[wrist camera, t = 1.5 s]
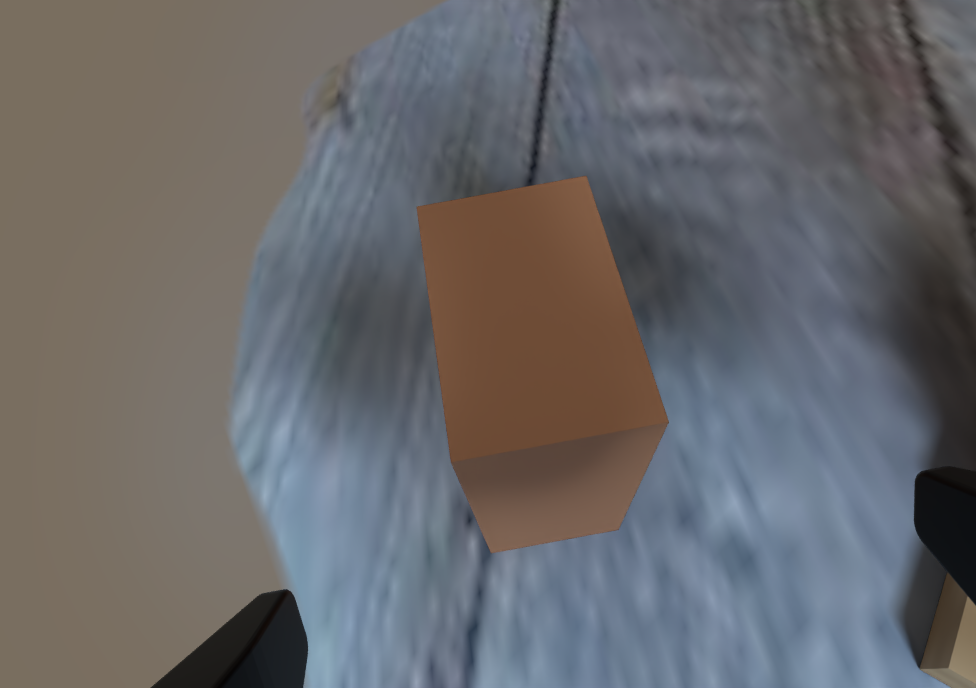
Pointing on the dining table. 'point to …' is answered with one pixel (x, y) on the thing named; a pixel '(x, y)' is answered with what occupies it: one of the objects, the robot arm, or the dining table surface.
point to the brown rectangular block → (538, 363)
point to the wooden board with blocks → (952, 639)
